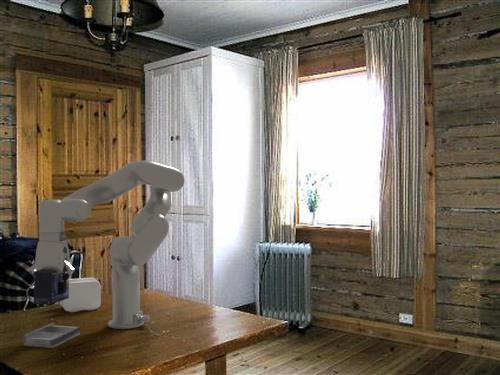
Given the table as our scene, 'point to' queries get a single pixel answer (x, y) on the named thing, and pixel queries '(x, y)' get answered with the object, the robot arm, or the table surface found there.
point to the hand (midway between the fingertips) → (52, 292)
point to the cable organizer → (82, 295)
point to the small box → (48, 287)
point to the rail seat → (50, 336)
